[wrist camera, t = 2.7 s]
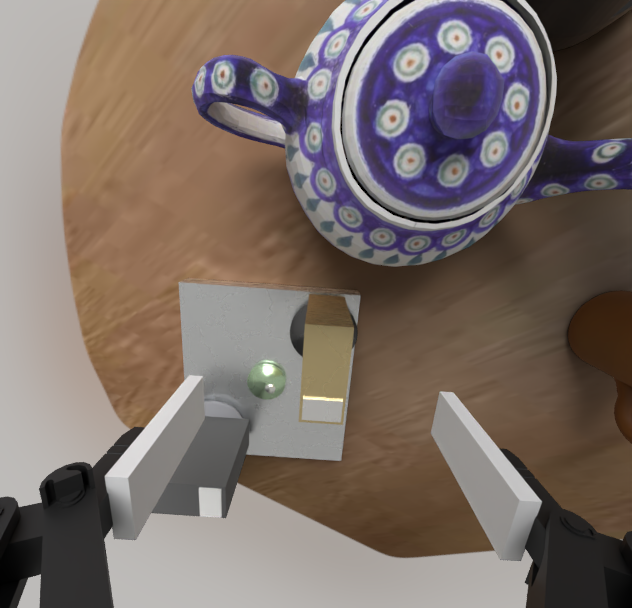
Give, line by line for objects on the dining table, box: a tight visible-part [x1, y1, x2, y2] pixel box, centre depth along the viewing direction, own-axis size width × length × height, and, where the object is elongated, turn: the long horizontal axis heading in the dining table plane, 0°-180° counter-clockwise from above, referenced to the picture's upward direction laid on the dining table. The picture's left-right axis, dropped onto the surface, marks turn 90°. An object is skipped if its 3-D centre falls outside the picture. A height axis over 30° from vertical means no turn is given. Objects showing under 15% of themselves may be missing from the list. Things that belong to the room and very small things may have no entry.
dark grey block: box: [151, 400, 249, 518], centre depth 25 cm, size 7×6×8 cm
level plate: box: [179, 278, 361, 461], centre depth 29 cm, size 18×16×3 cm
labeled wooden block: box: [290, 294, 357, 425], centre depth 22 cm, size 7×6×8 cm
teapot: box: [191, 0, 632, 267], centre depth 17 cm, size 25×15×15 cm, turn 78°
